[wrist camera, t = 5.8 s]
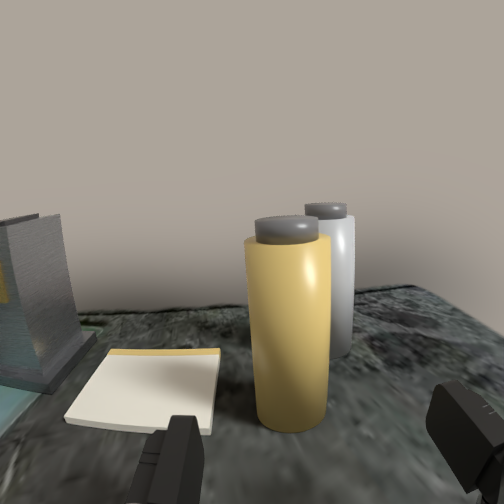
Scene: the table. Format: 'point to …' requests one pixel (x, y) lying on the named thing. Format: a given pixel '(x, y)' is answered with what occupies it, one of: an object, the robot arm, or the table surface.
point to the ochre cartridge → (289, 320)
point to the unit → (37, 306)
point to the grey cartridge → (338, 271)
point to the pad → (149, 390)
